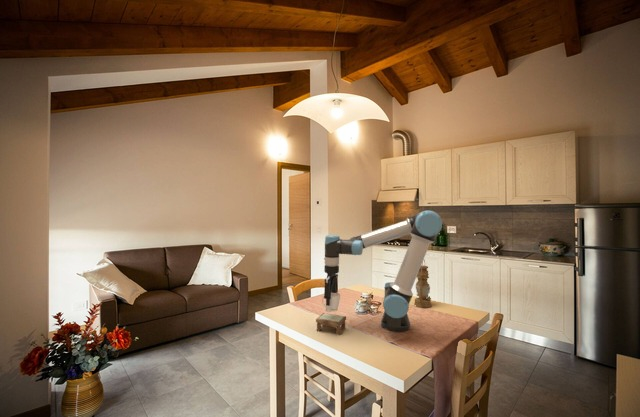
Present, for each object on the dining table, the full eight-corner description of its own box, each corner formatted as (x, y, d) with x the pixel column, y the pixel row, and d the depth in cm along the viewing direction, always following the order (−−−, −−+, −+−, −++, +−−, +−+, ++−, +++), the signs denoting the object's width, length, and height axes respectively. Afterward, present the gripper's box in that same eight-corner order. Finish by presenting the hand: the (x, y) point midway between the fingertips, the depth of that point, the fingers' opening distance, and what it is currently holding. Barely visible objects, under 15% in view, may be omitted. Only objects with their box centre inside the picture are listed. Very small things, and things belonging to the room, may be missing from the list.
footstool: (346, 327, 159) (346, 316, 159) (340, 335, 149) (340, 323, 149) (323, 324, 164) (323, 312, 164) (315, 330, 154) (316, 319, 154)
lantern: (432, 310, 187) (432, 261, 187) (414, 308, 190) (415, 260, 190) (430, 302, 202) (430, 257, 202) (413, 301, 205) (414, 257, 205)
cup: (337, 313, 151) (337, 297, 151) (319, 310, 156) (319, 294, 156) (342, 309, 158) (342, 293, 158) (324, 306, 162) (325, 291, 162)
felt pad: (343, 316, 158) (343, 316, 158) (338, 322, 151) (338, 321, 151) (324, 313, 162) (324, 313, 162) (318, 318, 155) (318, 318, 155)
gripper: (331, 261, 167) (330, 302, 167) (317, 267, 149) (316, 314, 149) (344, 262, 164) (343, 304, 164) (331, 269, 146) (331, 316, 146)
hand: (330, 309), depth 157 cm, fingers closed on cup, 7 cm apart
